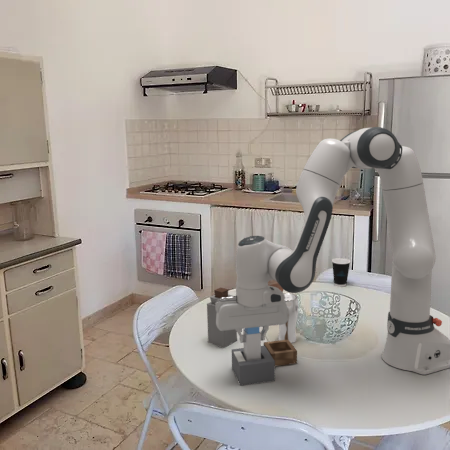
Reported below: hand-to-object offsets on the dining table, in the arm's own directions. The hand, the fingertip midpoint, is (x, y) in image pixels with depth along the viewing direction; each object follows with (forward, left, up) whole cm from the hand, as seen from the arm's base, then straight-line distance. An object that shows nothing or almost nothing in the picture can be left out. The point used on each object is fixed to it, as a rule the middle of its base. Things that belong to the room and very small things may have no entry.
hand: (252, 340), depth 140 cm
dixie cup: (-57, -64, -11) cm, 86 cm away
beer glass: (-17, -19, -11) cm, 28 cm away
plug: (0, 0, -7) cm, 7 cm away
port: (0, 0, -10) cm, 10 cm away
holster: (-11, -7, -10) cm, 16 cm away
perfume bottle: (+4, -23, -11) cm, 25 cm away
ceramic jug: (-18, -41, -11) cm, 46 cm away
